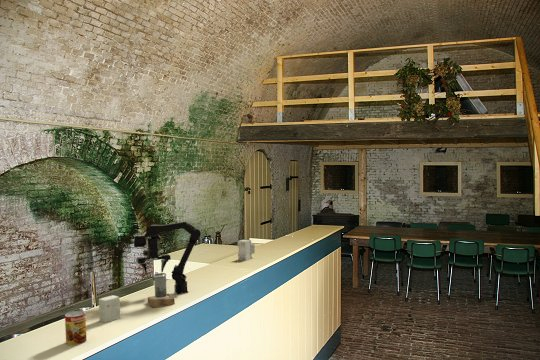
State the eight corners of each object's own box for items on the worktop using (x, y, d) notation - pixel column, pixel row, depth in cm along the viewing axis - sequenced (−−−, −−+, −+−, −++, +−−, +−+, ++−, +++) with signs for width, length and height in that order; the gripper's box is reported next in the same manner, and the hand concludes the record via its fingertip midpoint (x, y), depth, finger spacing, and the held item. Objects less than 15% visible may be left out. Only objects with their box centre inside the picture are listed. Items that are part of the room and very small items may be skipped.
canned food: (76, 346, 180) (75, 317, 180) (61, 344, 183) (60, 315, 183) (90, 339, 187) (89, 311, 187) (76, 337, 190) (75, 309, 190)
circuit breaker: (255, 257, 359) (255, 238, 359) (245, 260, 347) (245, 241, 347) (248, 256, 363) (247, 238, 363) (238, 259, 351) (237, 241, 351)
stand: (168, 299, 245) (168, 293, 245) (174, 304, 235) (174, 298, 235) (147, 302, 240) (147, 297, 240) (153, 307, 230) (152, 302, 229)
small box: (114, 316, 218) (113, 294, 218) (120, 318, 215) (119, 296, 215) (99, 320, 212) (98, 298, 212) (105, 322, 208) (104, 300, 208)
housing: (165, 294, 242) (164, 272, 242) (169, 298, 236) (168, 274, 236) (152, 297, 239) (151, 274, 239) (156, 300, 233) (155, 276, 232)
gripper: (165, 243, 268) (166, 268, 268) (133, 246, 259) (134, 273, 259) (170, 245, 258) (171, 272, 258) (137, 249, 249) (138, 276, 249)
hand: (154, 273), depth 257 cm, fingers open, 9 cm apart
